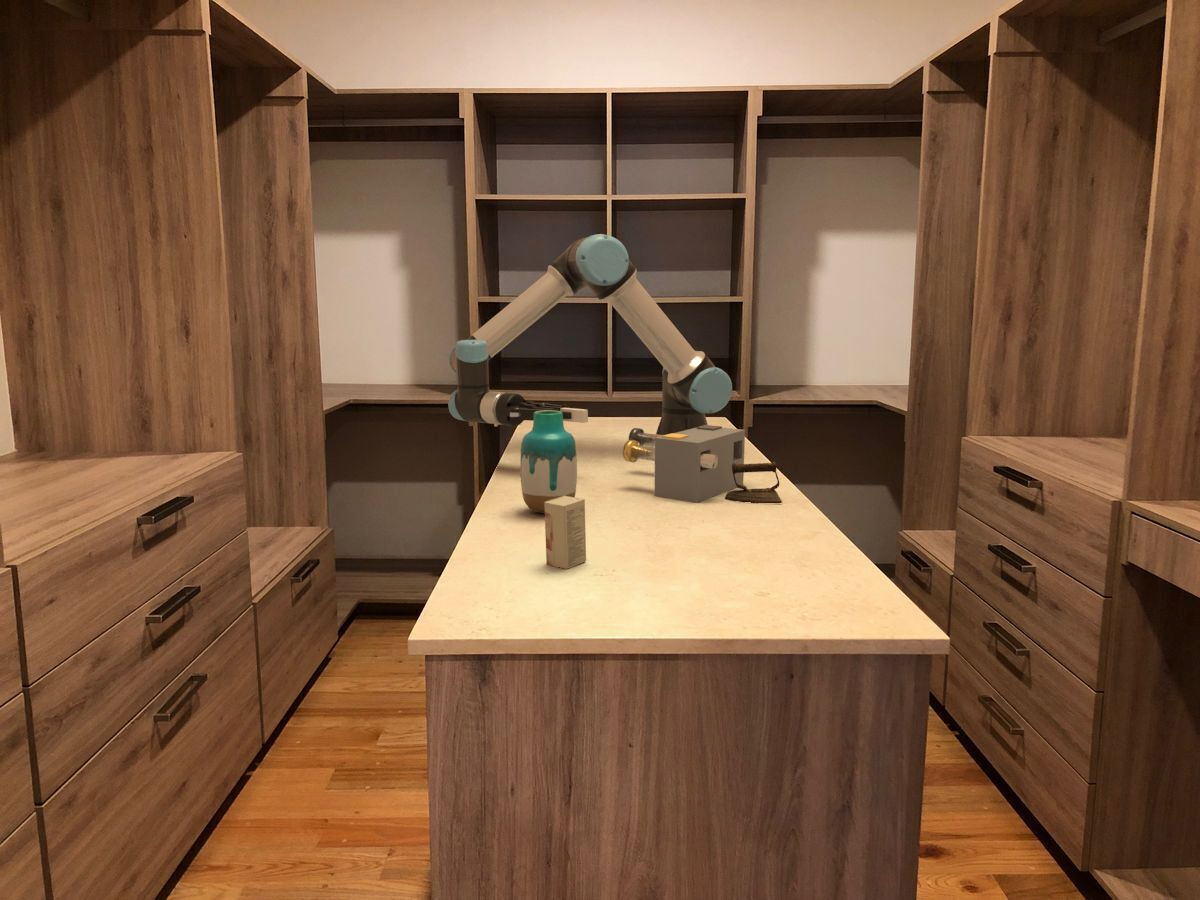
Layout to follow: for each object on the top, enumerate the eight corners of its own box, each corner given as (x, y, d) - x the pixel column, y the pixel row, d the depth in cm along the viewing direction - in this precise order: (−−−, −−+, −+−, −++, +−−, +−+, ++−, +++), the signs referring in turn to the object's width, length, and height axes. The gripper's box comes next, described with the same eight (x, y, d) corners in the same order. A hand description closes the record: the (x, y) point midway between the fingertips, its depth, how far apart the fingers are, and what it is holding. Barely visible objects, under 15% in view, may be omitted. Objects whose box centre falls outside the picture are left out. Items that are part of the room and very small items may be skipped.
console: (702, 478, 197) (703, 423, 195) (743, 484, 191) (745, 428, 189) (654, 495, 181) (655, 436, 179) (697, 502, 175) (698, 441, 173)
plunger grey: (639, 446, 205) (639, 426, 204) (717, 456, 193) (718, 435, 192) (628, 449, 201) (628, 429, 200) (707, 459, 190) (707, 438, 189)
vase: (580, 505, 173) (579, 408, 169) (573, 519, 162) (572, 416, 159) (526, 504, 174) (525, 407, 170) (516, 518, 163) (514, 415, 160)
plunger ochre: (634, 459, 189) (635, 438, 188) (719, 471, 177) (720, 448, 177) (622, 463, 186) (622, 441, 185) (708, 475, 174) (709, 452, 173)
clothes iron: (786, 507, 174) (776, 459, 172) (729, 519, 176) (719, 472, 173) (780, 495, 181) (771, 449, 179) (726, 507, 182) (716, 462, 180)
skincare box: (566, 556, 140) (565, 494, 139) (587, 561, 138) (587, 498, 136) (543, 564, 136) (542, 500, 135) (565, 570, 134) (564, 505, 132)
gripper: (523, 421, 212) (603, 429, 198) (486, 428, 201) (567, 437, 188) (522, 389, 210) (603, 395, 197) (484, 396, 200) (566, 402, 186)
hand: (585, 416), depth 192 cm, fingers closed
